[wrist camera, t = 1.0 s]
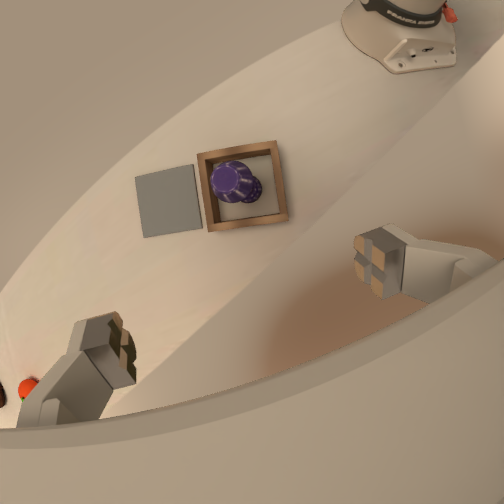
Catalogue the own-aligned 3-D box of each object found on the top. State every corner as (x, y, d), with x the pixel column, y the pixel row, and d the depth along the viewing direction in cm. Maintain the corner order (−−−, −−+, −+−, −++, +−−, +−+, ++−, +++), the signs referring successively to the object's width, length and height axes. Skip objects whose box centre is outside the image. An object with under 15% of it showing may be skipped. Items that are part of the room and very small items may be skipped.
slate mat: (193, 164, 46) (192, 164, 45) (202, 227, 47) (201, 228, 46) (136, 177, 47) (134, 177, 46) (144, 237, 48) (143, 237, 48)
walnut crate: (276, 146, 44) (276, 140, 39) (287, 218, 46) (288, 220, 41) (205, 158, 45) (196, 153, 40) (215, 229, 47) (208, 232, 42)
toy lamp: (231, 204, 46) (205, 205, 30) (228, 174, 45) (200, 158, 29) (263, 201, 46) (253, 200, 29) (260, 170, 45) (249, 152, 28)
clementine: (50, 404, 58) (35, 418, 51) (32, 394, 58) (17, 407, 51) (45, 380, 56) (28, 394, 49) (26, 370, 57) (10, 382, 50)
